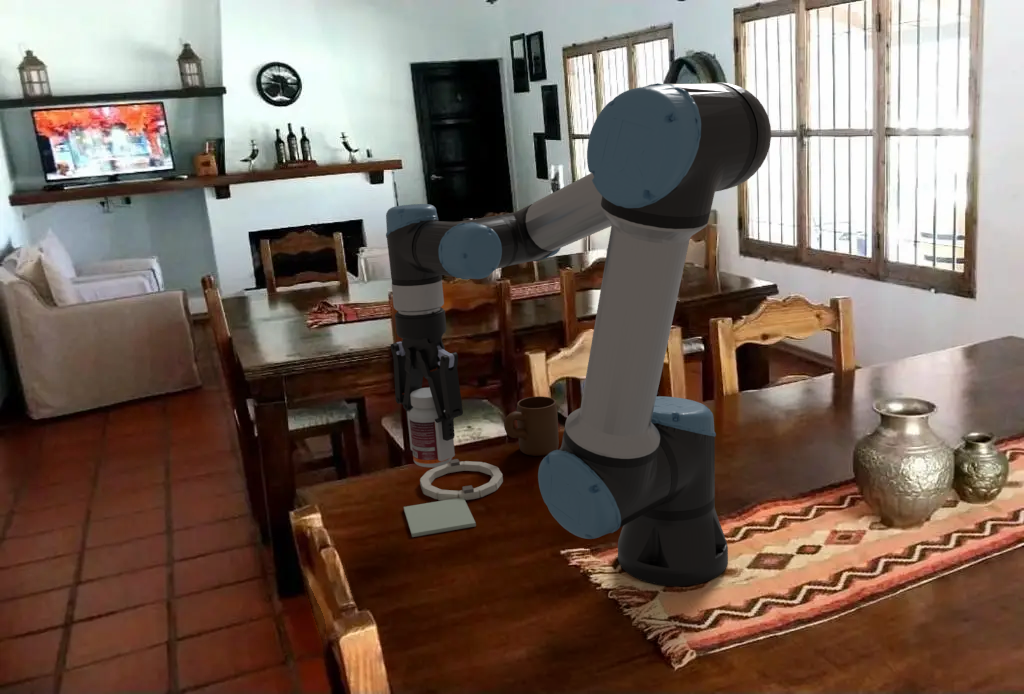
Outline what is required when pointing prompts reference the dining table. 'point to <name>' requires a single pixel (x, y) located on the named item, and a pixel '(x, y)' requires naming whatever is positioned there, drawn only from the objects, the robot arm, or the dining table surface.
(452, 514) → the coaster
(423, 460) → the pill bottle
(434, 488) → the collar
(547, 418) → the mug
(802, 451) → the dining table surface
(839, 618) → the dining table surface
